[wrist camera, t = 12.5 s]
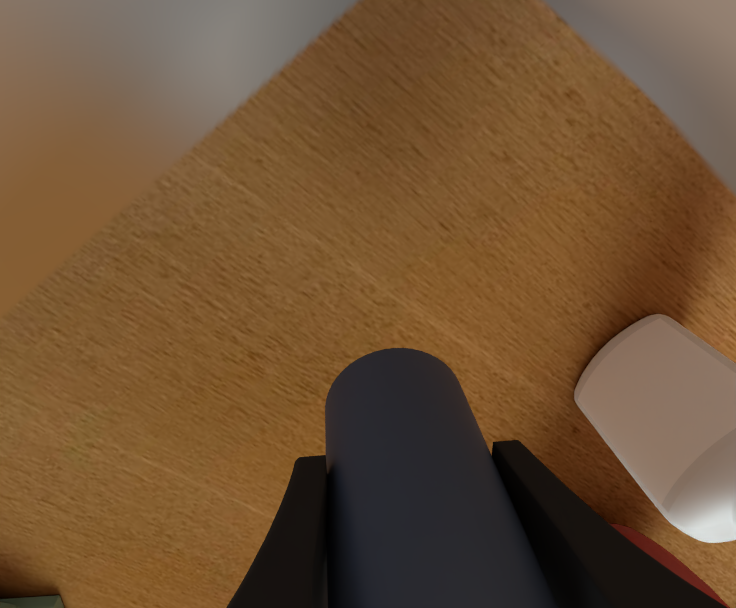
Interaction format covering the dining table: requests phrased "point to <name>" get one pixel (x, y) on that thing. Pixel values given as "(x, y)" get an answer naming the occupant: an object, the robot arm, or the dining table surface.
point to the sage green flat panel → (33, 602)
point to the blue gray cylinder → (418, 495)
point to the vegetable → (666, 560)
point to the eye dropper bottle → (669, 421)
